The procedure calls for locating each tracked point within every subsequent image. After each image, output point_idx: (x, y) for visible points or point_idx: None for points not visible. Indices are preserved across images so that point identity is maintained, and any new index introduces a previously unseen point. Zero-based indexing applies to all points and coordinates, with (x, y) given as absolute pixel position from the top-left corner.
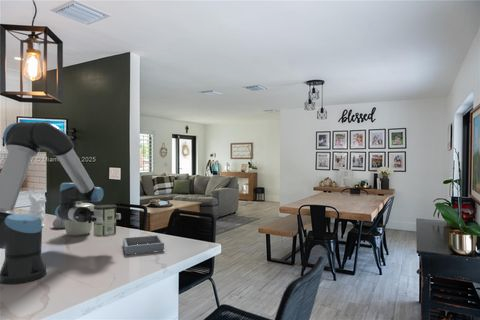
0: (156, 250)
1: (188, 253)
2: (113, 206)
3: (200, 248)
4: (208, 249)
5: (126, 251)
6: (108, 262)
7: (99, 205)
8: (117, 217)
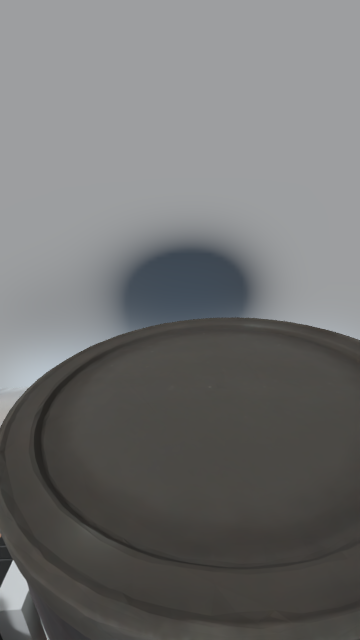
0: None
1: None
2: (190, 320)
3: (14, 403)
4: (24, 388)
5: None
6: None
7: (238, 571)
8: None
